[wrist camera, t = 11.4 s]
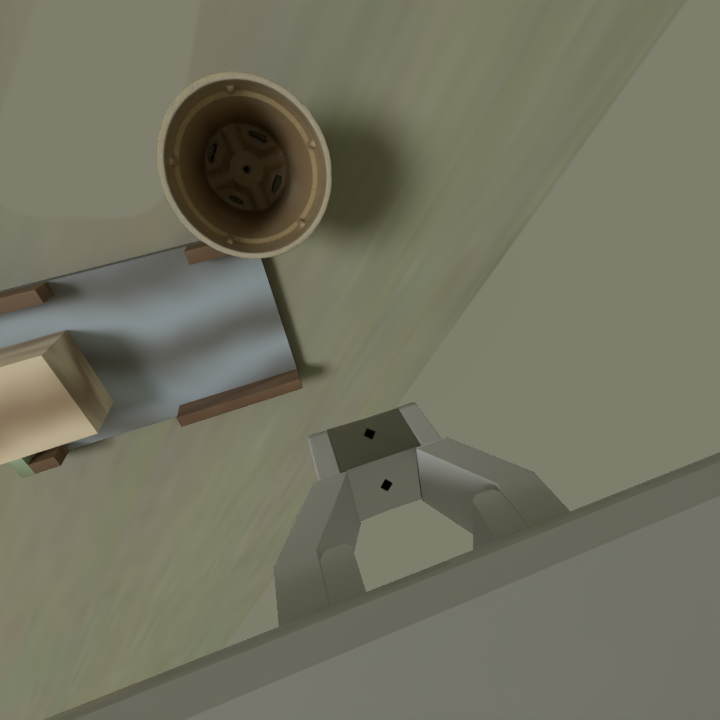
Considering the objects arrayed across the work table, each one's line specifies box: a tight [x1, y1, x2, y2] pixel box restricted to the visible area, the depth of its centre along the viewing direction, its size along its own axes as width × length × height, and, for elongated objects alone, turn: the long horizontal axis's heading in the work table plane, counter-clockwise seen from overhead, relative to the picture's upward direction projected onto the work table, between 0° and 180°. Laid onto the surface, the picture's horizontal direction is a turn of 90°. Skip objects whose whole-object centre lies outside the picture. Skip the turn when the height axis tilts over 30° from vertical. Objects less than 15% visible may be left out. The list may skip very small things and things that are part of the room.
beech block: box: [0, 330, 114, 465], centre depth 29 cm, size 7×7×4 cm
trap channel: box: [0, 241, 303, 478], centre depth 31 cm, size 14×24×3 cm, turn 102°
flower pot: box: [157, 72, 332, 259], centre depth 25 cm, size 9×9×9 cm
